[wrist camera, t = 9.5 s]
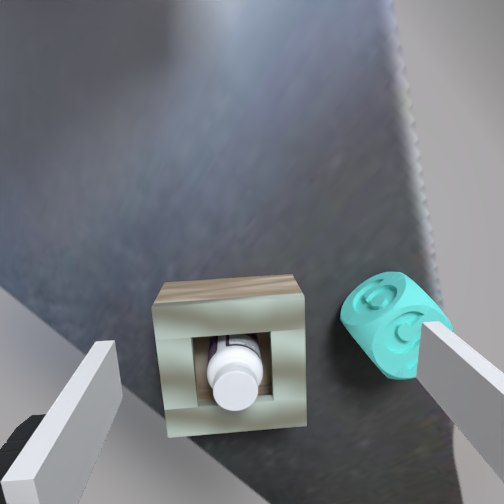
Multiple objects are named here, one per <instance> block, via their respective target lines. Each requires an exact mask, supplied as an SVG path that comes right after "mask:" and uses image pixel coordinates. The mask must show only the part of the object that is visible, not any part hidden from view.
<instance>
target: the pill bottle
mask: <svg viewBox="0 0 504 504" xmlns="http://www.w3.org/2000/svg"><path fill="white" fill-rule="evenodd" d="M262 377H263V366H262V360H261V355H260V349H259V343H258V337H257V334H256V333H246V334H232V335H219V336H211V337H210V343H209V354H208V364H207V378H208V382H209V384H210V386H211V388H212V389H213V395H214V399H215V401H216V402H217V403H218V405H220V406H221V407H222V408H224V409H227V410H230V411H239V410H243V409H246V408H247V407H249V406H250V405H252V404H253V402H254V401H255V400H256V398H257V395H258V386H259V385H260V383H261V381H262Z"/></svg>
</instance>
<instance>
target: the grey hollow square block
mask: <svg viewBox="0 0 504 504" xmlns="http://www.w3.org/2000/svg"><path fill="white" fill-rule="evenodd" d="M151 308H152V316H153V324H154V332H155V340H156V348H157V355H158V363H159V371H160V379H161V387H162V395H163V402H164V410H165V418H166V426H167V434H168V438H173V437H184V436H196V435H207V434H219V433H230V432H242V431H253V430H265V429H277V428H288V427H300V426H307V416H306V357H305V298H304V295H303V293H302V291H301V290H300V288H299V286H298V284H297V282H296V281H295V279H294V277H293V275H292V274H285V275H270V276H255V277H240V278H225V279H211V280H196V281H181V282H166V283H164V285H163V287H162V289H161V290H160V292H159V294H158V296H157V298H156V300H155V302H154V304H153V306H152V307H151ZM246 333H256V334H257V337H258V343H259V349H260V355H261V360H262V366H263V377H262V381H261V383H260V385H259V386H258V395H257V398H256V400H255V401H254V402H253V404H252V405H250V406H249V407H247V408H246V409H243V410H239V411H230V410H227V409H224V408H222V407H221V406H220V405H218V403H217V402H216V401H215V399H214V395H213V389H212V388H211V386H210V384H209V382H208V378H207V364H208V354H209V343H210V337H211V336H219V335H232V334H246Z"/></svg>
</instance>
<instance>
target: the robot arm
mask: <svg viewBox="0 0 504 504" xmlns="http://www.w3.org/2000/svg"><path fill="white" fill-rule="evenodd" d="M416 378H417V379H418V380H419V381H420V383H421V384H422V385H423V386H424V387H425V389H426V390H427V391H428V392H429V393H430V395H431V396H432V397H433V398H434V399H435V401H436V402H437V403H438V404H439V405H440V407H441V408H442V409H443V410H444V411H445V413H446V414H447V415H448V416H449V417H450V419H451V420H452V421H453V422H454V424H455V425H456V426H457V427H458V428H459V429H460V431H461V432H462V433H463V434H464V436H465V437H466V438H467V439H468V440H469V441H470V443H471V444H472V445H473V446H474V448H475V449H476V450H477V451H478V452H479V454H480V455H481V456H482V457H483V458H484V459H485V460H486V462H487V463H488V464H489V466H490V467H491V468H492V469H493V470H494V472H495V473H496V474H497V475H498V476H499V478H500V479H501V480H502V481H503V482H504V373H502V372H501V371H500V370H499V369H497V368H496V367H495V366H494V365H492V364H491V363H490V362H489V361H488V360H486V359H485V358H484V357H483V356H481V355H480V354H479V353H478V352H476V351H475V350H474V349H473V348H471V347H470V346H469V345H468V344H467V343H465V342H464V341H463V340H462V339H460V338H459V337H458V336H456V335H455V334H454V333H453V332H452V331H450V330H449V329H448V328H447V327H445V326H444V325H443V324H442V323H441V322H439V321H435V322H422V326H421V336H420V345H419V355H418V364H417V373H416ZM122 398H123V394H122V387H121V380H120V373H119V367H118V360H117V353H116V346H115V340H113V341H96V342H95V343H94V345H93V346H92V348H91V349H90V351H89V352H88V354H87V355H86V357H85V358H84V360H83V361H82V363H81V364H80V365H79V367H78V368H77V370H76V371H75V373H74V374H73V376H72V377H71V379H70V380H69V382H68V383H67V385H66V386H65V388H64V389H63V390H62V392H61V393H60V395H59V396H58V398H57V399H56V401H55V402H54V404H53V405H52V407H51V408H50V410H49V411H48V413H47V414H44V415H32V416H31V417H29V418H28V419H27V420H25V421H24V422H23V423H22V424H20V425H19V426H18V427H17V428H16V429H15V430H14V432H13V433H12V435H11V436H10V437H9V439H8V440H7V443H5V444H4V445H3V446H2V448H1V449H0V504H79V501H80V499H81V497H82V494H83V491H84V489H85V487H86V484H87V482H88V480H89V477H90V475H91V473H92V470H93V468H94V465H95V463H96V461H97V458H98V456H99V453H100V451H101V449H102V446H103V444H104V441H105V439H106V437H107V434H108V432H109V429H110V427H111V425H112V422H113V420H114V417H115V415H116V413H117V410H118V408H119V405H120V403H121V400H122Z"/></svg>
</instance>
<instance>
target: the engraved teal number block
mask: <svg viewBox="0 0 504 504" xmlns="http://www.w3.org/2000/svg"><path fill="white" fill-rule="evenodd" d="M340 320H341V322H342V323H343V325H344V326H345V327H346V329H347V330H348V331H349V333H350V334H351V335H352V337H353V338H354V339H355V340H356V342H357V343H358V344H359V345H360V347H361V348H362V349H363V350H364V352H365V353H366V354H367V355H368V356H369V358H370V359H371V360H372V361H373V362H374V363H375V365H376V366H377V367H378V368H379V369H380V370H381V372H382V373H383V374H384V375H385V376H386V377H387V378H390V379H411V378H416V373H417V364H418V355H419V345H420V336H421V326H422V322H435V321H439V322H441V323H442V324H443V325H444V326H445V327H447V328H448V329H449V330H450V331H452V332H453V326H452V324H451V323H450V321H449V320H448V318H447V317H446V315H445V314H444V313H443V312H442V310H441V309H440V308H439V307H438V306H437V304H436V303H435V302H434V301H433V300H432V299H431V298H430V297H429V296H428V295H427V294H426V293H425V292H424V291H423V290H422V289H421V288H420V287H419V286H418V285H417V284H416V283H415V282H414V281H412V280H411V279H410V278H409V277H407V276H406V275H405V274H403V273H401V272H385V273H381V274H378V275H375V276H373V277H371V278H369V279H367V280H366V281H364V282H363V283H361V284H360V285H359V286H358V287H356V288H355V289H354V290H353V291H352V292H351V293H350V295H349V296H348V297H347V298H346V300H345V302H344V304H343V306H342V309H341V314H340Z"/></svg>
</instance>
